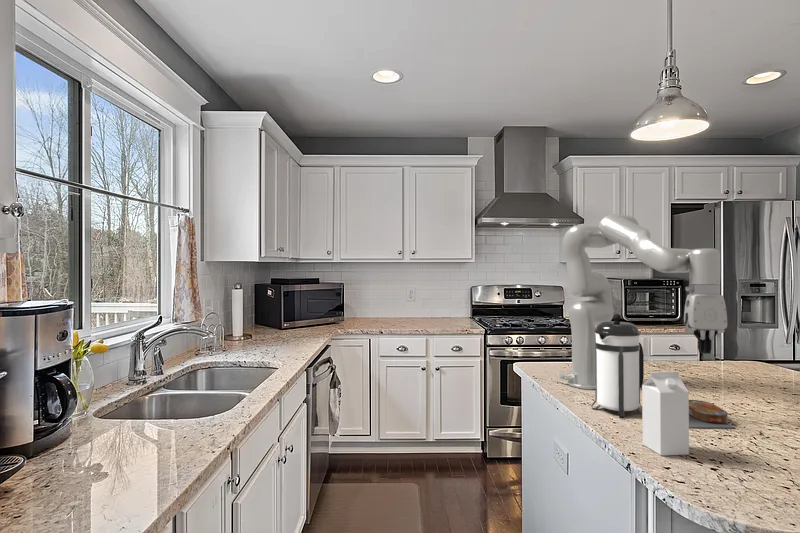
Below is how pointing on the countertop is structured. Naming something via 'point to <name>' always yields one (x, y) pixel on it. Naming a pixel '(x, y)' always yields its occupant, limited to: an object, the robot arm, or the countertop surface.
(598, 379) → the coffee press
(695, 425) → the rubber mat
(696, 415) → the tin
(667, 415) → the milk carton
